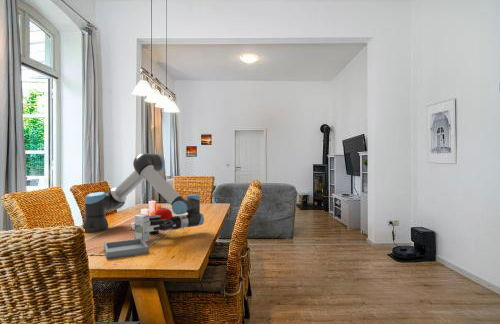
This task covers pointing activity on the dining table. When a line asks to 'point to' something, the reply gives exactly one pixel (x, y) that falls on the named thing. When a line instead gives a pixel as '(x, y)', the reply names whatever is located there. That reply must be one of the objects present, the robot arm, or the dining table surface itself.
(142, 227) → the syrup box
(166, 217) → the tomato
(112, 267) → the dining table surface
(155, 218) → the coffee mug
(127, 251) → the tray
